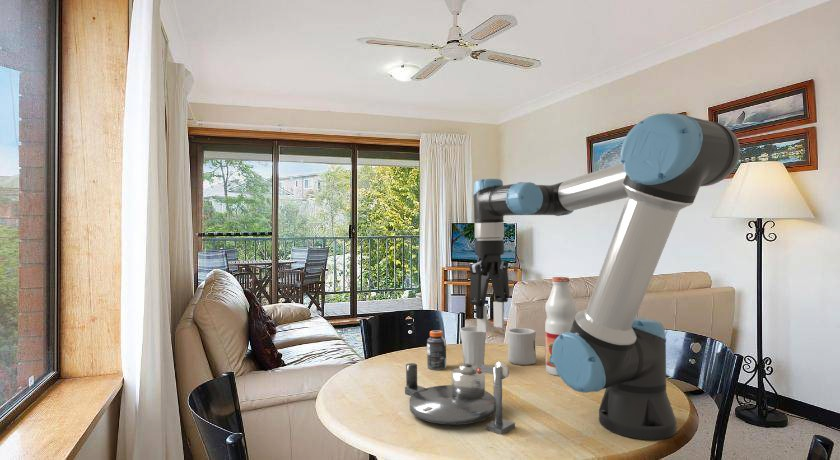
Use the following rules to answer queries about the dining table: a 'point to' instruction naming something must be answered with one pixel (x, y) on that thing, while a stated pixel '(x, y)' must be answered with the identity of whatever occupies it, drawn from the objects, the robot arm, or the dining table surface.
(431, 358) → the pill bottle
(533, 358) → the mug
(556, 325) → the fruit juice
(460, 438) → the dining table surface
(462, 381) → the cover
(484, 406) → the turntable
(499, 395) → the indicator
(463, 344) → the cup
